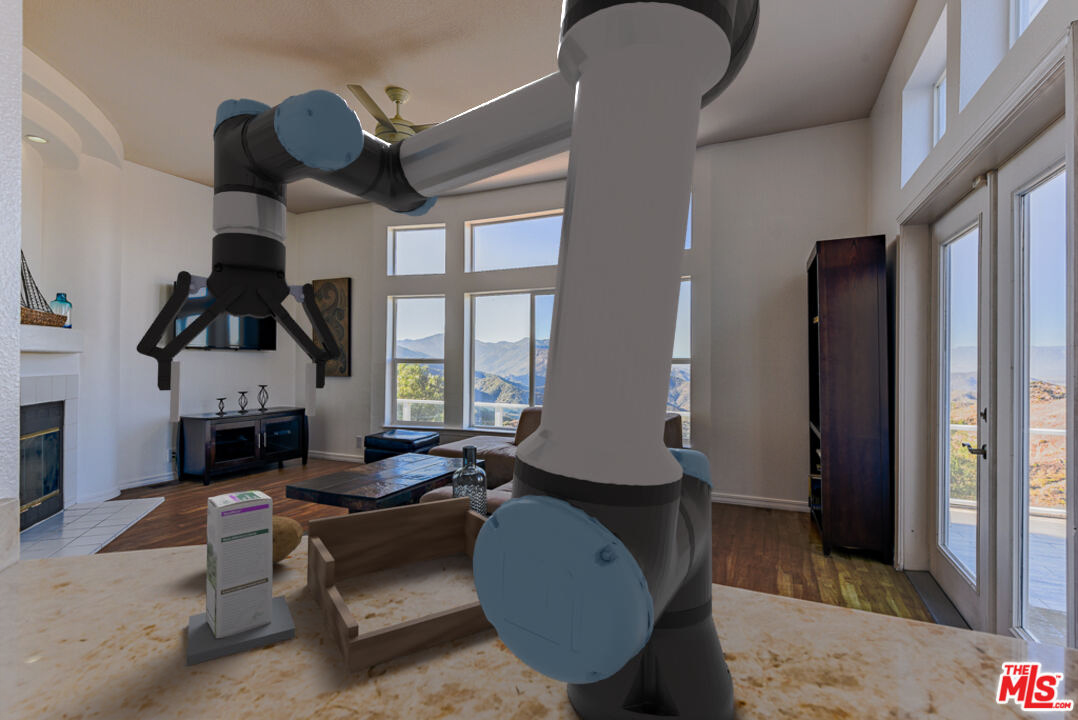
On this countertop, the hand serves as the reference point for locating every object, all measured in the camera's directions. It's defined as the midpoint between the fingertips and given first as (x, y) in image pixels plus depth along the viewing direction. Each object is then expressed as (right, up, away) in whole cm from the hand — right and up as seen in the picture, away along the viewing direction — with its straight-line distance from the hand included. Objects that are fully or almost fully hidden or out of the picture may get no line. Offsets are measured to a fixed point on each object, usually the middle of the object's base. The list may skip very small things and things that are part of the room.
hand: (247, 418), depth 57 cm
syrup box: (-1, -24, -1) cm, 24 cm away
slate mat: (0, -25, -1) cm, 25 cm away
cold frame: (+19, -25, +9) cm, 32 cm away
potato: (-10, -25, +18) cm, 33 cm away
